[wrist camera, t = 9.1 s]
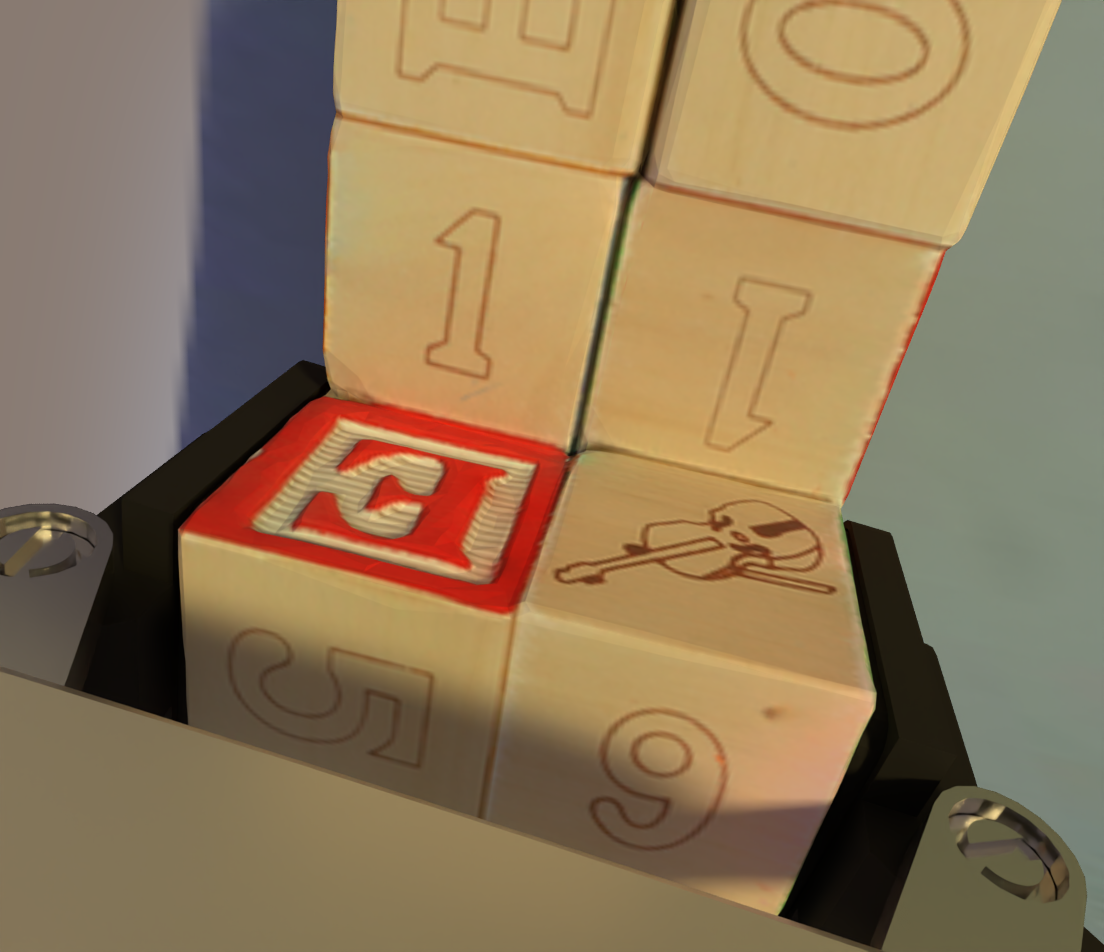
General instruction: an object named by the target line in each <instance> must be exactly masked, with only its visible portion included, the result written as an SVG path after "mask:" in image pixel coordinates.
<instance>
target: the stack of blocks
mask: <svg viewBox="0 0 1104 952" xmlns="http://www.w3.org/2000/svg"><path fill="white" fill-rule="evenodd" d="M1061 1H1062V0H337V25H336V40H335V54H334V73H333V96H334V102H335V107H336V116H335V119H334V123H333V127H332V130H331V136H330V144H329V150H328V156H327V159H328V182H327V199H326V228H325V288H324V325H323V354H324V360H325V367H326V373H327V379H328V382H329V385H330V388H331V390H330V391H329V392H328V393H327V394H326V395H325V396H323V397H321V398H318V399H316V400H313V401H311V402H309V403H308V404H307V405H306V406H305V407H304V408H302V409H301V410H300V411H299V412H298V413H297V414H295V415H294V416H293V417H291V418H290V419H289V421H288V422H287V423H286V424H285V426H284V427H283V428H282V429H281V430H280V431H279V432H278V433H277V434H276V435H275V436H274V437H273V438H272V439H271V440H270V441H269V442H268V443H267V444H265V445H264V446H263V447H262V448H261V449H260V450H258V451H257V452H256V453H255V454H253V455H252V456H251V457H250V458H249V459H248V460H247V462H246V463H245V464H244V465H243V466H241V467H240V468H239V469H238V470H237V471H236V472H235V473H233V474H232V475H231V476H230V477H229V478H228V479H227V480H226V481H225V482H224V483H223V484H222V485H221V486H220V487H219V488H218V489H217V490H216V491H215V492H214V493H212V494H211V495H210V496H209V497H208V498H207V499H206V500H205V501H204V502H202V503H201V504H200V505H199V506H198V507H197V508H196V509H195V510H194V512H193V513H192V514H191V515H190V516H189V517H188V518H187V520H186V521H185V522H184V523H183V524H182V525H181V526H180V528H179V529H178V560H179V577H180V594H181V611H182V629H183V644H184V652H185V661H186V698H187V713H188V725H189V726H192V727H195V728H199V729H202V730H205V731H208V732H211V733H214V734H217V735H221V736H224V737H227V738H230V739H233V740H236V741H240V742H243V743H246V744H249V745H252V746H255V747H259V748H262V749H265V750H268V751H271V752H274V753H278V754H281V755H284V756H287V757H290V758H293V759H296V760H300V761H303V762H306V763H309V764H312V765H315V766H319V767H322V768H325V769H328V770H331V771H334V772H337V773H340V774H343V775H347V776H350V777H353V778H356V779H359V780H362V781H365V782H368V783H371V784H374V785H378V786H381V787H384V788H387V789H390V790H393V791H396V792H399V793H402V794H406V795H409V796H412V797H415V798H418V799H421V800H424V801H427V802H430V803H434V804H437V805H440V806H443V807H446V808H449V809H452V810H455V811H458V812H461V813H465V814H468V815H471V816H474V817H477V818H480V819H483V820H486V821H489V822H492V823H495V824H499V825H502V826H505V827H508V828H511V829H514V830H517V831H520V832H523V833H526V834H529V835H532V836H536V837H539V838H542V839H545V840H548V841H551V842H554V843H557V844H560V845H563V846H566V847H570V848H573V849H576V850H579V851H582V852H585V853H588V854H591V855H594V856H597V857H600V858H603V859H606V860H609V861H612V862H615V863H618V864H622V865H625V866H628V867H631V868H634V869H637V870H640V871H643V872H646V873H649V874H652V875H655V876H658V877H661V878H664V879H667V880H670V881H673V882H676V883H679V884H682V885H685V886H688V887H691V888H694V889H698V890H701V891H704V892H707V893H710V894H713V895H716V896H719V897H722V898H725V899H728V900H731V901H734V902H737V903H740V904H743V905H746V906H749V907H752V908H755V909H758V910H761V911H764V912H767V913H770V914H774V915H777V916H778V914H779V913H780V912H781V910H782V909H783V907H784V905H785V903H786V901H787V899H788V897H789V894H790V892H791V890H792V888H793V886H794V883H795V881H796V879H797V877H798V875H799V873H800V870H801V868H802V866H803V864H804V862H805V859H806V857H807V855H808V853H809V851H810V848H811V846H812V844H813V842H814V840H815V837H816V835H817V833H818V831H819V829H820V827H821V825H822V823H823V820H824V818H825V816H826V814H827V812H828V810H829V808H830V806H831V804H832V801H833V799H834V797H835V795H836V793H837V791H838V789H839V786H840V784H841V782H842V780H843V777H844V775H845V773H846V770H847V768H848V766H849V764H850V761H851V759H852V757H853V754H854V752H855V750H856V748H857V745H858V743H859V741H860V738H861V736H862V734H863V732H864V730H865V728H866V726H867V724H868V722H869V720H870V718H871V716H872V714H873V712H874V711H875V707H876V694H877V692H876V690H875V687H874V683H873V678H872V672H871V667H870V662H869V656H868V651H867V645H866V641H865V636H864V631H863V627H862V622H861V617H860V611H859V606H858V600H857V594H856V589H855V583H854V577H853V572H852V566H851V560H850V555H849V549H848V543H847V538H846V533H845V528H844V524H843V519H842V514H841V507H842V506H843V504H844V502H845V500H846V498H847V496H848V494H849V492H850V489H851V487H852V484H853V482H854V479H855V477H856V474H857V472H858V469H859V467H860V464H861V462H862V459H863V457H864V454H865V452H866V450H867V447H868V445H869V442H870V440H871V437H872V435H873V432H874V430H875V427H876V425H877V422H878V420H879V417H880V415H881V413H882V410H883V408H884V405H885V403H886V400H887V398H888V395H889V393H890V390H891V388H892V385H893V383H894V380H895V378H896V375H897V373H898V370H899V368H900V365H901V363H902V360H903V358H904V356H905V353H906V351H907V348H908V346H909V344H910V341H911V339H912V336H913V334H914V331H915V329H916V327H917V324H918V322H919V319H920V317H921V315H922V312H923V310H924V307H925V305H926V302H927V300H928V297H929V295H930V292H931V290H932V287H933V285H934V282H935V280H936V277H937V275H938V272H939V269H940V266H941V263H942V260H943V257H944V254H945V251H947V250H948V249H949V248H950V247H952V246H953V245H954V244H956V243H957V242H958V241H959V240H960V239H961V237H962V236H963V234H964V232H965V230H966V228H967V226H968V223H969V221H970V219H971V216H972V214H973V212H974V209H975V207H976V205H977V202H978V200H979V197H980V195H981V193H982V190H983V188H984V186H985V183H986V181H987V179H988V176H989V174H990V172H991V169H992V167H993V165H994V162H995V160H996V158H997V155H998V153H999V150H1000V148H1001V146H1002V143H1003V141H1004V139H1005V136H1006V134H1007V132H1008V129H1009V127H1010V125H1011V122H1012V120H1013V118H1014V115H1015V113H1016V110H1017V108H1018V106H1019V103H1020V101H1021V99H1022V96H1023V94H1024V92H1025V89H1026V87H1027V84H1028V82H1029V79H1030V77H1031V74H1032V72H1033V70H1034V67H1035V65H1036V62H1037V60H1038V57H1039V55H1040V52H1041V50H1042V47H1043V45H1044V43H1045V40H1046V38H1047V35H1048V33H1049V30H1050V28H1051V25H1052V23H1053V20H1054V18H1055V15H1056V13H1057V11H1058V8H1059V6H1060V3H1061Z"/></svg>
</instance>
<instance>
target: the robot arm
mask: <svg viewBox="0 0 1104 952" xmlns="http://www.w3.org/2000/svg"><path fill="white" fill-rule="evenodd" d="M330 390H331V388H330V385H329V382H328V379H327V373H326V367H325V366H321V365H318V364H315V363H311V362H308V361H304V360H302V361H300V362H298V363H297V364H296V365H294V366H293V367H292V368H290V369H289V370H288V371H286V372H285V373H284V374H283V375H281V376H280V377H279V378H277V379H276V380H275V381H273V382H272V383H271V384H270V385H268V386H267V387H266V388H264V389H263V390H262V391H260V392H259V393H258V394H257V395H255V396H254V397H253V398H251V399H250V400H249V401H247V402H246V403H245V404H244V405H242V406H241V407H240V408H238V409H237V410H236V411H234V412H233V413H232V414H231V415H229V416H228V417H227V418H225V419H224V420H223V421H221V422H220V423H219V424H217V425H216V426H215V427H214V428H212V429H211V430H210V431H208V432H206V433H204V434H202V435H201V436H200V437H198V438H197V439H196V440H194V441H193V442H192V443H191V444H189V445H188V446H187V447H185V448H184V449H183V450H181V451H180V452H179V453H177V454H176V455H175V456H174V457H172V458H171V459H170V460H168V461H167V462H166V463H164V464H163V465H162V466H161V467H159V468H158V469H157V470H155V471H154V472H153V473H151V474H150V475H149V476H147V477H146V478H145V479H144V480H142V481H141V482H140V483H138V484H137V485H136V486H134V487H133V488H132V489H130V491H128V492H126V493H125V494H124V495H123V496H121V497H120V498H119V499H117V500H116V501H115V502H113V503H112V504H111V505H109V506H108V507H107V508H106V509H104V510H103V511H102V512H100V513H99V514H98V515H95V514H94V513H91V512H88V511H85V510H82V509H80V508H77V507H72V506H66V505H59V504H27V505H21V506H15V507H9V508H4V509H1V510H0V952H1104V945H1103V944H1102V943H1101V942H1100V941H1099V940H1098V939H1097V938H1096V937H1095V936H1094V935H1092V934H1091V933H1090V932H1089V931H1088V930H1087V929H1086V928H1085V927H1084V919H1085V911H1086V902H1087V889H1086V881H1085V876H1084V874H1083V872H1082V869H1081V867H1080V865H1079V863H1078V861H1077V859H1076V857H1075V855H1074V854H1073V853H1072V851H1071V850H1070V849H1069V847H1068V846H1067V845H1066V843H1065V842H1064V841H1063V839H1062V838H1061V837H1060V836H1059V835H1058V834H1057V833H1056V832H1055V831H1054V830H1053V829H1052V828H1051V827H1050V826H1049V825H1048V824H1046V823H1045V822H1044V821H1043V820H1042V819H1041V818H1040V817H1038V816H1037V815H1036V814H1034V813H1033V812H1031V811H1030V810H1028V809H1027V808H1025V807H1024V806H1023V805H1021V804H1020V803H1018V802H1016V801H1014V800H1012V799H1010V798H1008V797H1006V796H1003V795H1001V794H999V793H997V792H995V791H991V790H987V789H983V788H980V787H977V784H976V780H975V777H974V774H973V771H972V767H971V764H970V761H969V758H968V755H967V751H966V748H965V745H964V742H963V739H962V735H961V732H960V729H959V726H958V722H957V719H956V716H955V713H954V710H953V706H952V703H951V700H950V697H949V693H948V690H947V687H946V684H945V681H944V677H943V674H942V671H941V668H940V665H939V661H938V658H937V655H936V653H935V651H934V649H933V647H931V646H929V645H928V644H925V643H924V642H923V638H922V635H921V631H920V628H919V625H918V621H917V618H916V615H915V611H914V608H913V604H912V601H911V598H910V594H909V591H908V588H907V584H906V581H905V577H904V574H903V571H902V567H901V564H900V561H899V557H898V554H897V550H896V547H895V544H894V540H893V537H892V535H891V533H890V532H886V531H883V530H879V529H876V528H873V527H869V526H866V525H862V524H859V523H856V522H852V521H849V520H847V521H845V522H844V523H843V524H844V528H845V533H846V538H847V543H848V549H849V555H850V560H851V566H852V572H853V577H854V583H855V589H856V594H857V600H858V606H859V611H860V617H861V622H862V627H863V631H864V636H865V641H866V645H867V651H868V656H869V662H870V667H871V672H872V678H873V683H874V687H875V690H876V692H877V694H876V707H875V711H874V712H873V714H872V716H871V718H870V720H869V722H868V724H867V726H866V728H865V730H864V732H863V734H862V736H861V738H860V741H859V743H858V745H857V748H856V750H855V752H854V754H853V757H852V759H851V761H850V764H849V766H848V768H847V770H846V773H845V775H844V777H843V780H842V782H841V784H840V786H839V789H838V791H837V793H836V795H835V797H834V799H833V801H832V804H831V806H830V808H829V810H828V812H827V814H826V816H825V818H824V820H823V823H822V825H821V827H820V829H819V831H818V833H817V835H816V837H815V840H814V842H813V844H812V846H811V848H810V851H809V853H808V855H807V857H806V859H805V862H804V864H803V866H802V868H801V870H800V873H799V875H798V877H797V879H796V881H795V883H794V886H793V888H792V890H791V892H790V894H789V897H788V899H787V901H786V903H785V905H784V907H783V909H782V910H781V912H780V913H779V914H778V916H777V915H774V914H770V913H767V912H764V911H761V910H758V909H755V908H752V907H749V906H746V905H743V904H740V903H737V902H734V901H731V900H728V899H725V898H722V897H719V896H716V895H713V894H710V893H707V892H704V891H701V890H698V889H694V888H691V887H688V886H685V885H682V884H679V883H676V882H673V881H670V880H667V879H664V878H661V877H658V876H655V875H652V874H649V873H646V872H643V871H640V870H637V869H634V868H631V867H628V866H625V865H622V864H618V863H615V862H612V861H609V860H606V859H603V858H600V857H597V856H594V855H591V854H588V853H585V852H582V851H579V850H576V849H573V848H570V847H566V846H563V845H560V844H557V843H554V842H551V841H548V840H545V839H542V838H539V837H536V836H532V835H529V834H526V833H523V832H520V831H517V830H514V829H511V828H508V827H505V826H502V825H499V824H495V823H492V822H489V821H486V820H483V819H480V818H477V817H474V816H471V815H468V814H465V813H461V812H458V811H455V810H452V809H449V808H446V807H443V806H440V805H437V804H434V803H430V802H427V801H424V800H421V799H418V798H415V797H412V796H409V795H406V794H402V793H399V792H396V791H393V790H390V789H387V788H384V787H381V786H378V785H374V784H371V783H368V782H365V781H362V780H359V779H356V778H353V777H350V776H347V775H343V774H340V773H337V772H334V771H331V770H328V769H325V768H322V767H319V766H315V765H312V764H309V763H306V762H303V761H300V760H296V759H293V758H290V757H287V756H284V755H281V754H278V753H274V752H271V751H268V750H265V749H262V748H259V747H255V746H252V745H249V744H246V743H243V742H240V741H236V740H233V739H230V738H227V737H224V736H221V735H217V734H214V733H211V732H208V731H205V730H202V729H199V728H195V727H192V726H189V725H188V713H187V698H186V661H185V652H184V644H183V629H182V611H181V594H180V577H179V560H178V529H179V528H180V526H181V525H182V524H183V523H184V522H185V521H186V520H187V518H188V517H189V516H190V515H191V514H192V513H193V512H194V510H195V509H196V508H197V507H198V506H199V505H200V504H201V503H202V502H204V501H205V500H206V499H207V498H208V497H209V496H210V495H211V494H212V493H214V492H215V491H216V490H217V489H218V488H219V487H220V486H221V485H222V484H223V483H224V482H225V481H226V480H227V479H228V478H229V477H230V476H231V475H232V474H233V473H235V472H236V471H237V470H238V469H239V468H240V467H241V466H243V465H244V464H245V463H246V462H247V460H248V459H249V458H250V457H251V456H252V455H253V454H255V453H256V452H257V451H258V450H260V449H261V448H262V447H263V446H264V445H265V444H267V443H268V442H269V441H270V440H271V439H272V438H273V437H274V436H275V435H276V434H277V433H278V432H279V431H280V430H281V429H282V428H283V427H284V426H285V424H286V423H287V422H288V421H289V419H290V418H291V417H293V416H294V415H295V414H297V413H298V412H299V411H300V410H301V409H302V408H304V407H305V406H306V405H307V404H308V403H309V402H311V401H313V400H316V399H318V398H321V397H323V396H325V395H326V394H327V393H328V392H329V391H330Z"/></svg>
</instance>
